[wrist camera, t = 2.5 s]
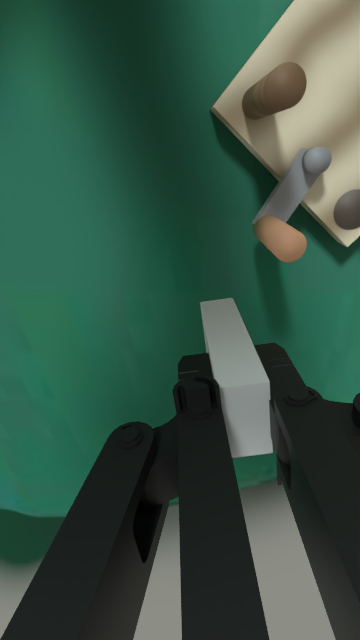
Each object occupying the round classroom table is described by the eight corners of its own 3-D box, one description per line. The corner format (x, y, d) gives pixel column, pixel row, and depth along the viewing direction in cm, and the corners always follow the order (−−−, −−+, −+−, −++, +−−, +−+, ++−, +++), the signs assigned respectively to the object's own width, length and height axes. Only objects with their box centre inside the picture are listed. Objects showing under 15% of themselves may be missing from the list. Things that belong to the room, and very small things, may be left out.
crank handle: (305, 140, 29) (348, 137, 22) (327, 156, 30) (375, 158, 23) (246, 230, 32) (267, 252, 25) (266, 243, 33) (292, 268, 26)
